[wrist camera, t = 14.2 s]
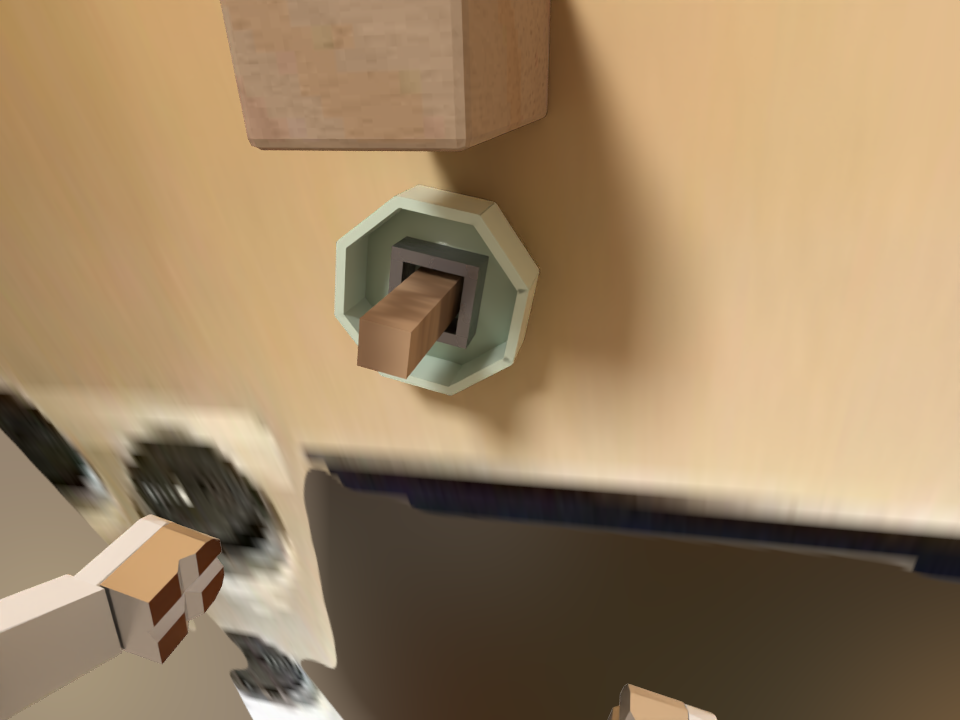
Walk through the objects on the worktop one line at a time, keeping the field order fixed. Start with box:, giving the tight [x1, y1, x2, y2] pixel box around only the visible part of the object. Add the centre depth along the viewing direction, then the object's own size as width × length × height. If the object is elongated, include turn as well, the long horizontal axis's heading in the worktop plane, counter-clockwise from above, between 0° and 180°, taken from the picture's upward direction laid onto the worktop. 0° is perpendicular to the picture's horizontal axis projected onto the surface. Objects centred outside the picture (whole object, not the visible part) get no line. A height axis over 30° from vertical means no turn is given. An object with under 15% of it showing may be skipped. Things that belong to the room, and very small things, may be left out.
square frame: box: [388, 236, 489, 349], centre depth 44 cm, size 7×7×3 cm
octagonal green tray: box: [334, 185, 539, 396], centre depth 44 cm, size 15×15×5 cm
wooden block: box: [220, 0, 551, 151], centre depth 29 cm, size 10×10×20 cm
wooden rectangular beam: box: [357, 266, 465, 379], centre depth 40 cm, size 4×4×12 cm
